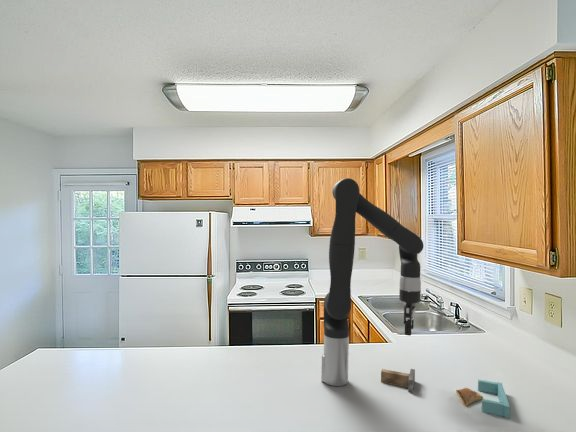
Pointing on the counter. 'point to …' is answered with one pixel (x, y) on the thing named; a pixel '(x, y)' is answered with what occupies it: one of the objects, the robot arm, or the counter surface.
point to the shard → (468, 396)
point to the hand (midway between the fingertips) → (409, 331)
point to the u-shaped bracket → (493, 406)
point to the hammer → (399, 378)
